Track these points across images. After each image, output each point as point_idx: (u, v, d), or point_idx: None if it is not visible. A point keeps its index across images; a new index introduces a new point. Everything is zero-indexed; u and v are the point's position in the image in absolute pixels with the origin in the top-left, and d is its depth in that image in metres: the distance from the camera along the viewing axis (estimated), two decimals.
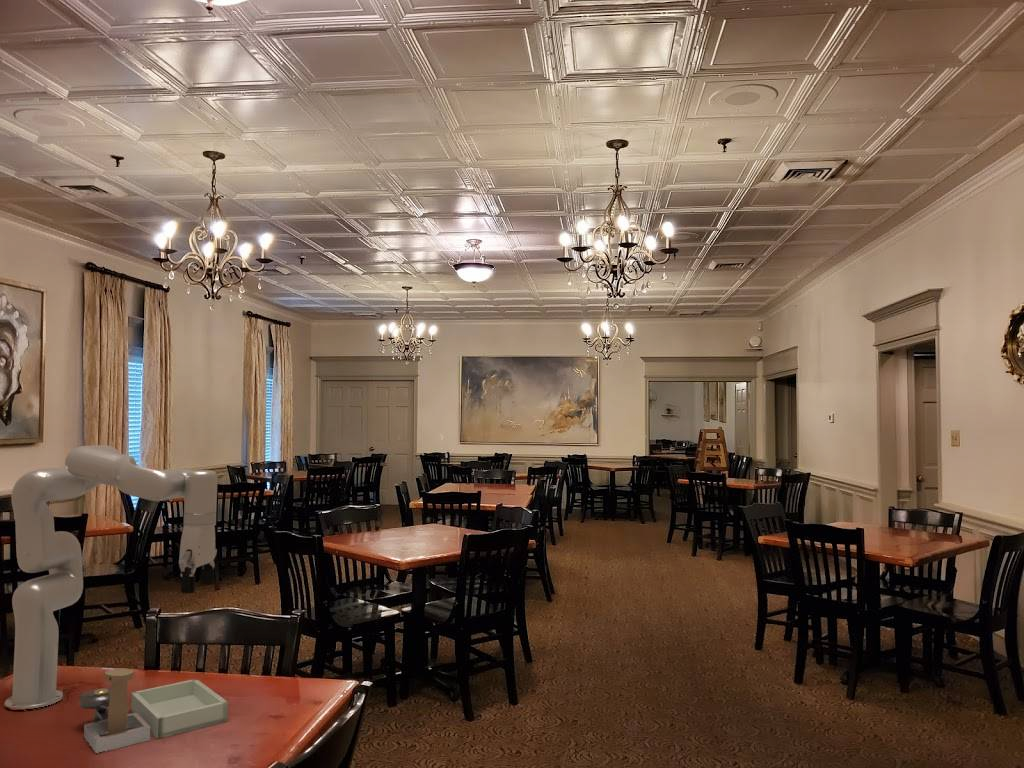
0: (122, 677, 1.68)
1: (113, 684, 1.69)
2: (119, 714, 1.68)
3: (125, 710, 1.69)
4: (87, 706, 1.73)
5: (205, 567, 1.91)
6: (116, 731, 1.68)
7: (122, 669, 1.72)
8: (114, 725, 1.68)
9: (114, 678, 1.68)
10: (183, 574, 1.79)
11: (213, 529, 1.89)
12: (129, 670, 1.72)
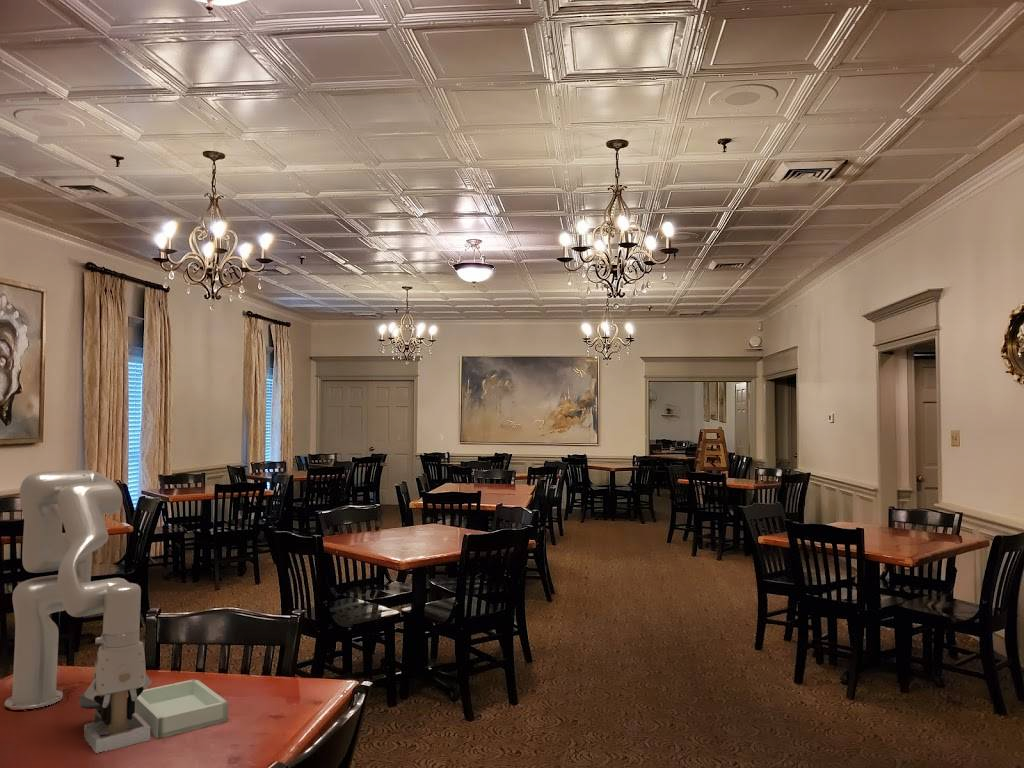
0: (122, 677, 1.68)
1: None
2: (119, 714, 1.68)
3: (125, 710, 1.69)
4: (87, 706, 1.73)
5: (108, 701, 1.68)
6: (116, 731, 1.68)
7: None
8: (114, 725, 1.68)
9: None
10: None
11: None
12: None
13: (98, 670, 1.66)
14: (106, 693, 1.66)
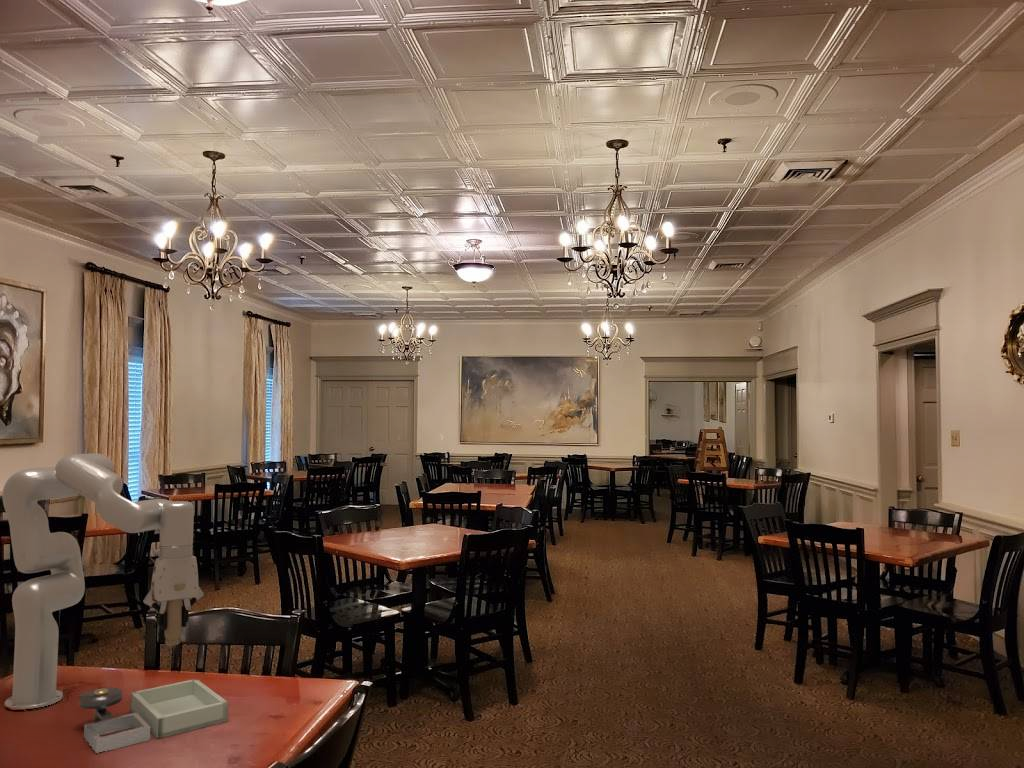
0: (177, 586, 1.80)
1: None
2: (175, 620, 1.81)
3: (180, 618, 1.82)
4: (87, 706, 1.73)
5: None
6: (172, 636, 1.81)
7: None
8: (170, 630, 1.80)
9: None
10: None
11: None
12: None
13: (156, 578, 1.79)
14: (163, 600, 1.79)
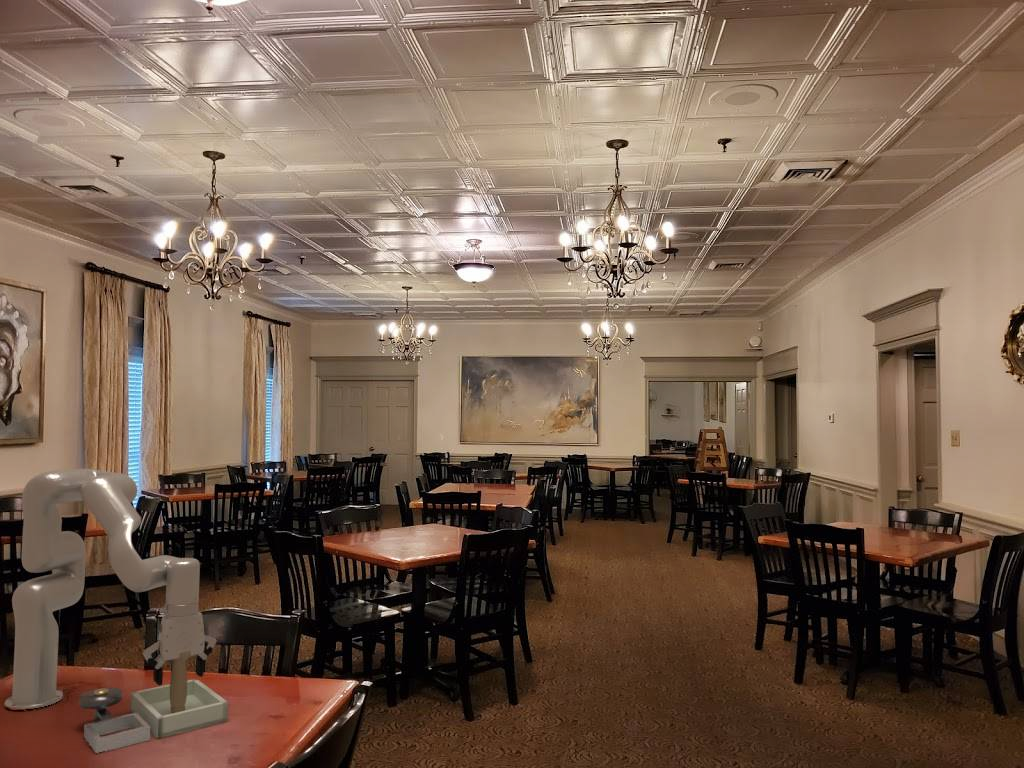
0: (183, 655, 1.81)
1: (174, 661, 1.82)
2: (180, 688, 1.82)
3: (185, 685, 1.83)
4: (87, 706, 1.73)
5: None
6: (177, 704, 1.82)
7: None
8: (175, 698, 1.82)
9: None
10: None
11: None
12: None
13: (162, 637, 1.80)
14: (170, 658, 1.80)
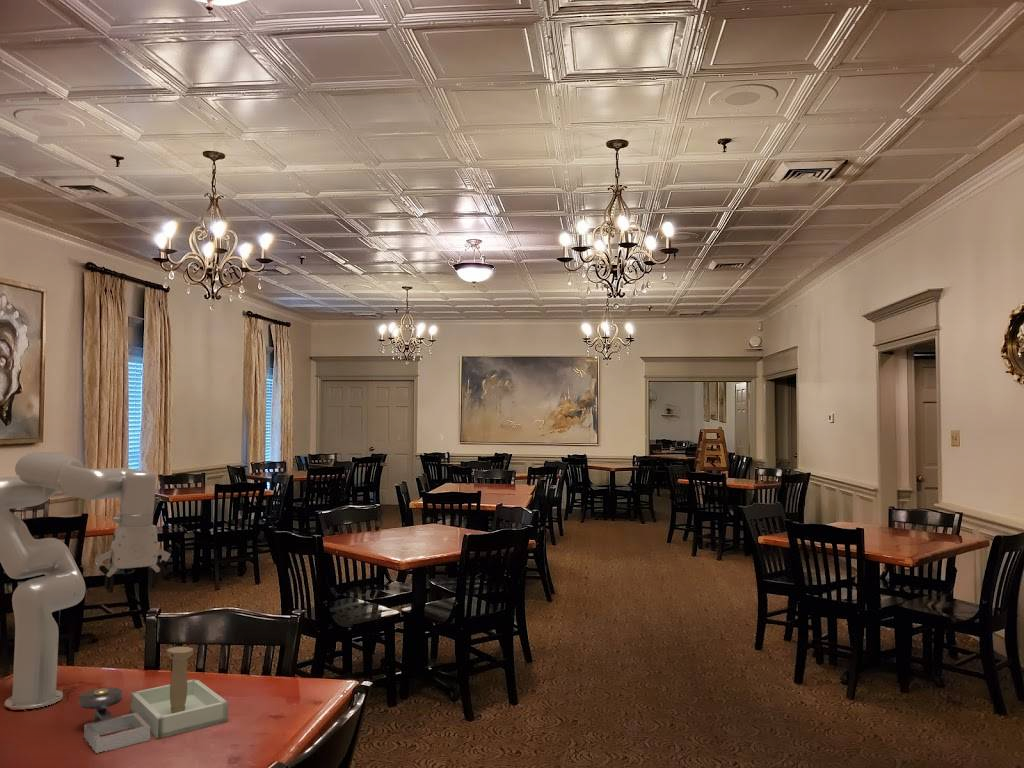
0: (183, 654, 1.82)
1: (175, 661, 1.82)
2: (180, 688, 1.82)
3: (185, 685, 1.83)
4: (87, 706, 1.73)
5: None
6: (177, 704, 1.82)
7: (182, 647, 1.86)
8: (175, 698, 1.82)
9: (176, 655, 1.82)
10: None
11: None
12: (189, 648, 1.86)
13: (115, 545, 1.81)
14: (121, 567, 1.81)
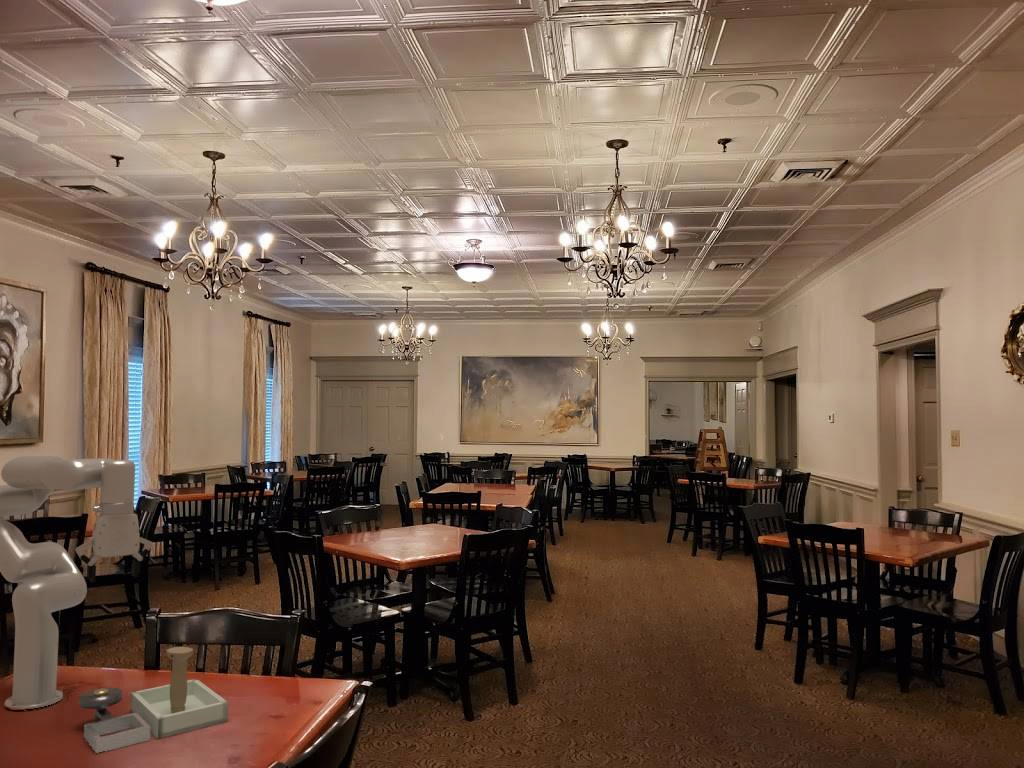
0: (183, 655, 1.81)
1: (174, 661, 1.82)
2: (180, 688, 1.82)
3: (185, 685, 1.83)
4: (87, 706, 1.73)
5: None
6: (177, 704, 1.82)
7: (182, 647, 1.86)
8: (175, 698, 1.82)
9: (176, 655, 1.81)
10: None
11: None
12: (188, 648, 1.85)
13: (96, 534, 1.81)
14: (103, 556, 1.81)
